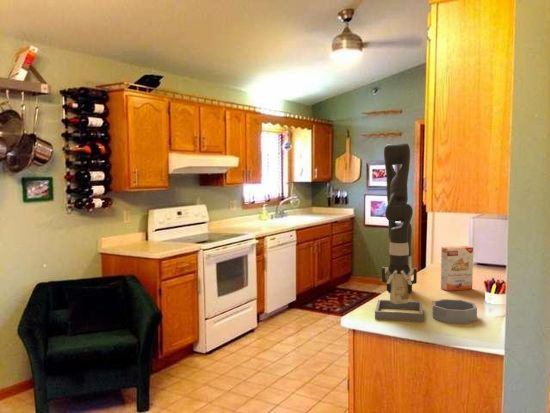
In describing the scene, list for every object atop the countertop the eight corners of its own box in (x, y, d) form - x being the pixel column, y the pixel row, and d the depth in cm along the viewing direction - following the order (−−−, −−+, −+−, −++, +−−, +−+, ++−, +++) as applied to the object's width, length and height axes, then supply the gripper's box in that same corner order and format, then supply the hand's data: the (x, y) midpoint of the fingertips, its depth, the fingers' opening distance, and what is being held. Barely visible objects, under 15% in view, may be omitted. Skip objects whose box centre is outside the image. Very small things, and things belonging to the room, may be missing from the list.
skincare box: (395, 304, 190) (394, 274, 189) (389, 301, 194) (389, 272, 193) (409, 303, 192) (409, 273, 191) (403, 300, 196) (403, 271, 195)
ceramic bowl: (431, 310, 197) (431, 298, 197) (473, 312, 192) (473, 300, 192) (433, 321, 182) (433, 309, 181) (478, 324, 177) (478, 311, 177)
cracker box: (447, 291, 227) (447, 248, 226) (440, 288, 233) (440, 246, 232) (473, 289, 230) (473, 246, 229) (466, 286, 236) (466, 245, 235)
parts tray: (378, 306, 204) (378, 299, 204) (421, 309, 199) (421, 302, 199) (374, 318, 187) (374, 311, 187) (422, 322, 182) (422, 314, 182)
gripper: (417, 251, 193) (417, 291, 194) (381, 251, 197) (381, 289, 198) (417, 255, 186) (417, 296, 187) (380, 254, 190) (380, 294, 191)
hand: (399, 292), depth 193 cm, fingers closed on skincare box, 7 cm apart
